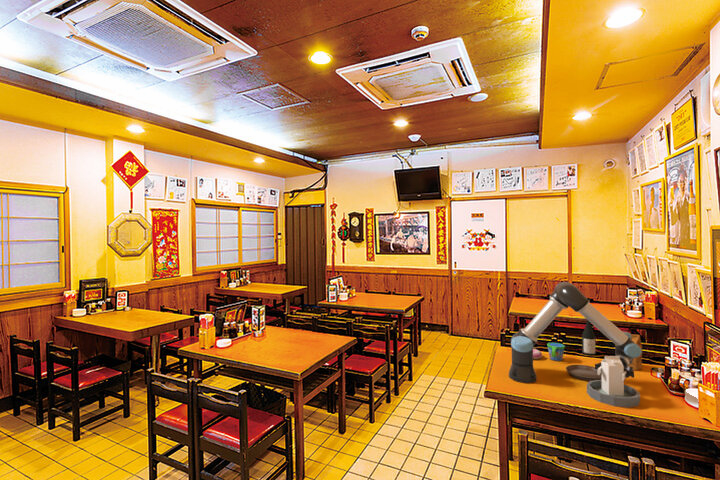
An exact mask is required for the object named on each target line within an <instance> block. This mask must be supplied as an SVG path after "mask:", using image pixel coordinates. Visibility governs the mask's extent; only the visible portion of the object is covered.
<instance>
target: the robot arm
mask: <svg viewBox="0 0 720 480" xmlns="http://www.w3.org/2000/svg"><path fill="white" fill-rule="evenodd" d="M568 308H570V309H572V310H573V311H574V312H575V313H579V314H580V315H581V316H583V318H585V319H587V320H588V321H589V322H590V323H591V325H593V326H594V327H595V328H597V330H598V331H600V332H601V333H602V334H603V335H604V336H605V337H606V338H607V339H609V341H611V342H612V343H613V344H614V345H615V349H614V351H615V355H614V356H619V357H620V360H621V362H622V364H623V366H624V373H623V374H622V380H624V381H625V379H628V378H632V379H633V378H635V370H633V367H629V365H630V364H631V363H632V361H633V358H637V357H639V356H640V355H641V353H642V354H643V350H642V351H641V348H640V347H639V346H638V345H637V344H636V343H634V342H633V341H632V340H631V339H632V338H631V334H632V333H630V332H627V331H622V330H621V329H620V328H619V327H617V326H616V325H615V324H614V323H613V322H612V321H611V320H609V319H608V318H607V317H606V316H605V315H603V313H601V312H600V311H599V310H598V309H597V308H596V307H595V306H593V305H592V304H591V303H590V299H588V298H587V297H586V296H585V295H584V294H583V292H582V291H581V290H580V289H579V288H578V287H577V286H576V285H574V284H573V283H571V282H566V281H562V282H559V283H558V284H557V285H556V286H555V288H554V290H553V291H552V292H551V294H550V295H549V300H548V301H547V302H546V304H545V305H544V306H543V307H542V308H541V309H540V311H539V312H538V313H537V314H536V315H535V316H534V317H533V319H531V320H530V322H529V323H528V324H527V325H526V326H525V327H524V328H520V329H519V330H518V331H517V332H516V333H514V334H513V335H512V337H511V339H510V347H511V365H510V368H509V371H508V378H509V379H510V380H513V381H515V382H519V383H525V384H529V383H531V384H532V383H535V382H537V377H538V376H537V374H536V371H535V368H534V359H533V349H534V347H535V345H536V343H538V337H540V335H541V334H542V333H543V332H544V330H546V329H547V327H548V326H549V325H550V324H551V323H552V322H553V321H554V319H556V317H557V316H558V315H559V314H560V313H561V312H562V311H563V310H567V309H568ZM594 367H595V369H596V370H597V372H598V375H600V373H601V372H602V370H601V362H598V363H595V364H594ZM628 367H629V368H628Z"/></svg>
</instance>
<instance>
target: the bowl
mask: <svg viewBox="0 0 720 480" xmlns="http://www.w3.org/2000/svg"><path fill="white" fill-rule="evenodd" d="M587 382H588V383H586V393H587V395H588V396H589V397H590V398H591V399H593V400H595V401H597V402H599V403H601V404H605V405H609V406H613V407H619V408H634V407H639V405H640V403H641V393H640V392H639V391H638V390H637V389H636V388H634V387H632V386H630V385H627V384H625V383H624V395H609V394H607V393H606V392H605V391H604V390H602V380H594V381H587Z"/></svg>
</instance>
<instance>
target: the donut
mask: <svg viewBox="0 0 720 480" xmlns="http://www.w3.org/2000/svg"><path fill="white" fill-rule="evenodd" d="M542 357H543V354H542V352H541V351H540V350H539V349H536V348H533V360H540V359H541V358H542Z"/></svg>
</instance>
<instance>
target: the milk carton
mask: <svg viewBox="0 0 720 480" xmlns="http://www.w3.org/2000/svg"><path fill="white" fill-rule="evenodd" d="M600 363H601V370H602V390H604V391H605V392H606V393H607V394H609V395H624V384H625V383H624V381H625V380H622V374H623V373H624V366H623V364H622V362H621V360H620V357H619V356H615V355H609V356H608V355H605V356H604V358H603V359H602V360H601V362H600Z"/></svg>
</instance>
